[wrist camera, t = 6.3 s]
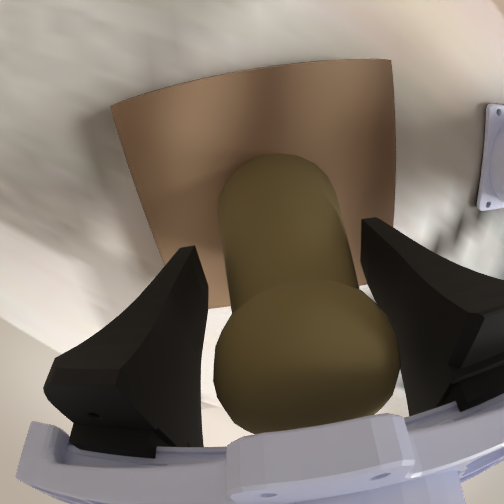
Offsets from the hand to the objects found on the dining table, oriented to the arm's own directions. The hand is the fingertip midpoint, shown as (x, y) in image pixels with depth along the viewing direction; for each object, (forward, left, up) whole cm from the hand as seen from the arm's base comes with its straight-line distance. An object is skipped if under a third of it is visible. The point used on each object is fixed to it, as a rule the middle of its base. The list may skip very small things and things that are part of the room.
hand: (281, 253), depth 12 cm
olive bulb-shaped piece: (0, 0, -5) cm, 5 cm away
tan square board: (0, 0, -7) cm, 7 cm away
